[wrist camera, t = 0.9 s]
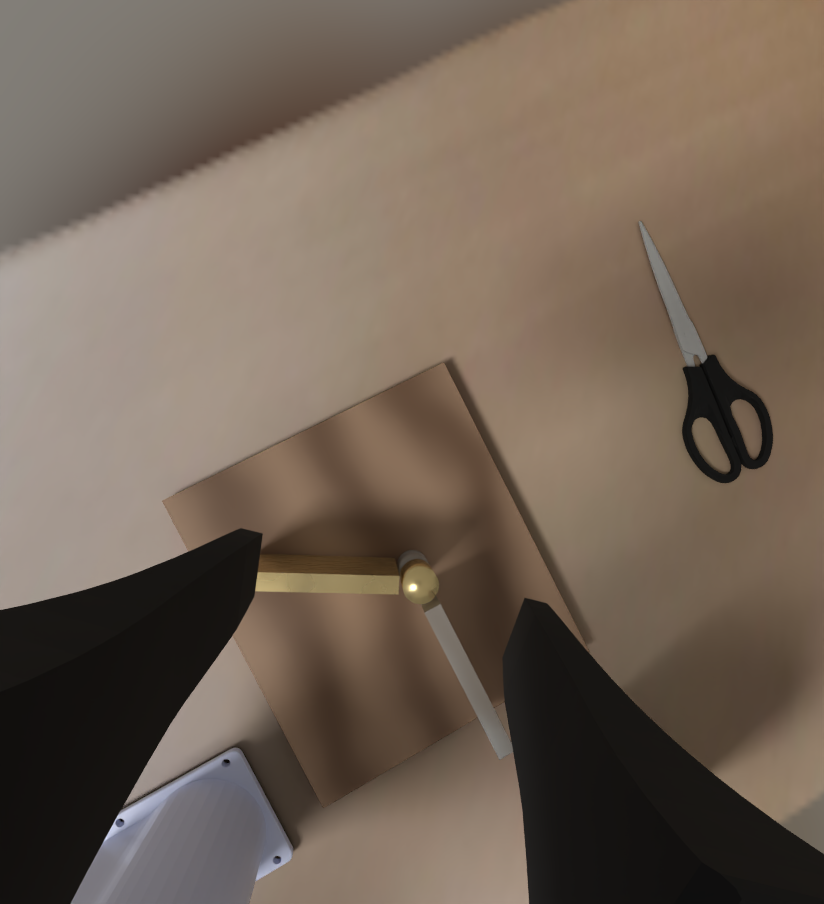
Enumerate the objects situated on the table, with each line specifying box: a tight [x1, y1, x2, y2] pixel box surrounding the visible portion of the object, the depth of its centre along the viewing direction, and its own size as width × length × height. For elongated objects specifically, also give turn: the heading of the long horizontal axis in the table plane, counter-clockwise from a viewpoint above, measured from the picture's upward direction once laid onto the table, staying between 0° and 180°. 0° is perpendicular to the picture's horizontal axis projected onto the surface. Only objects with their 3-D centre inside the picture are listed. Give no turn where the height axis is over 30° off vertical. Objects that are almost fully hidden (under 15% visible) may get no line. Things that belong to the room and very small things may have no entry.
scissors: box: [639, 221, 773, 483], centre depth 32 cm, size 7×1×20 cm
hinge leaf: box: [255, 554, 439, 604], centre depth 26 cm, size 2×11×4 cm, turn 87°
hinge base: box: [162, 362, 589, 808], centre depth 26 cm, size 20×22×6 cm
